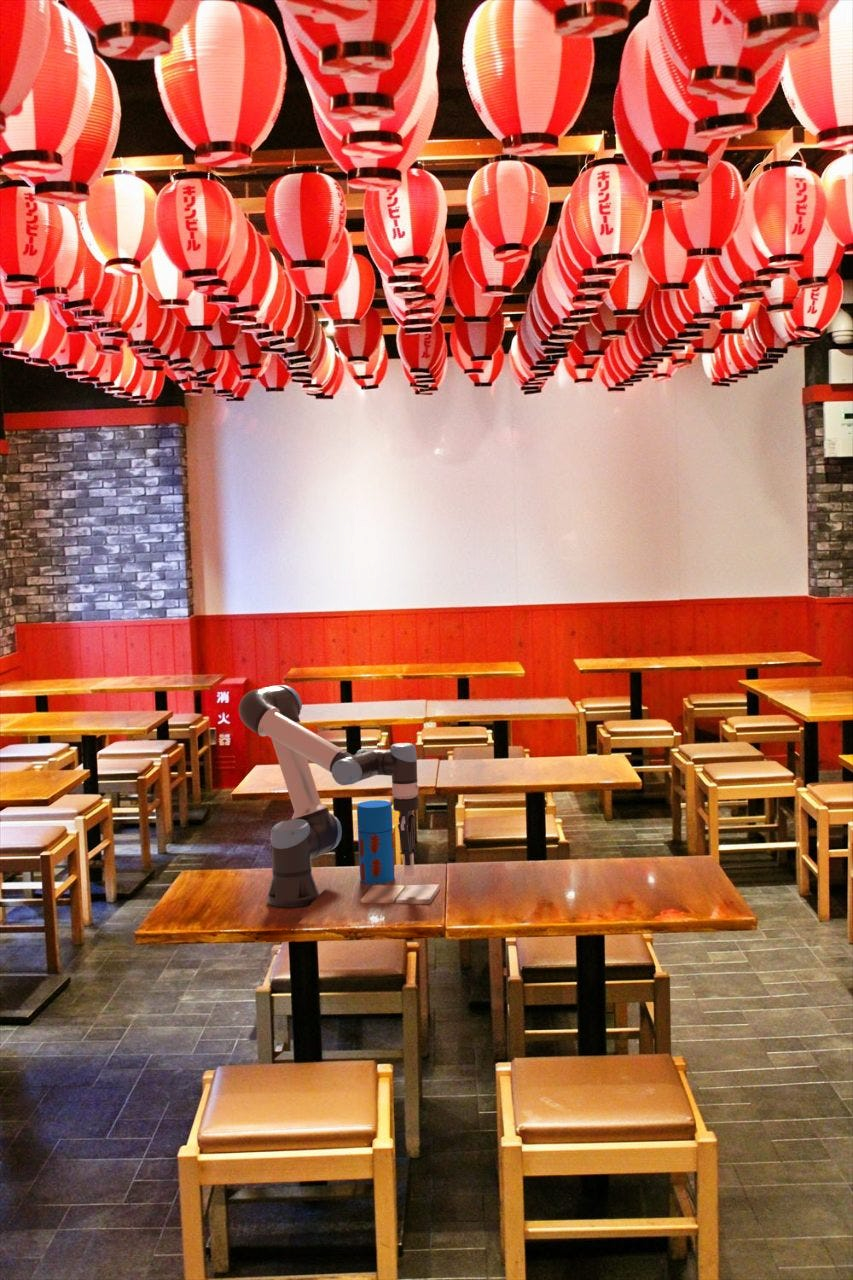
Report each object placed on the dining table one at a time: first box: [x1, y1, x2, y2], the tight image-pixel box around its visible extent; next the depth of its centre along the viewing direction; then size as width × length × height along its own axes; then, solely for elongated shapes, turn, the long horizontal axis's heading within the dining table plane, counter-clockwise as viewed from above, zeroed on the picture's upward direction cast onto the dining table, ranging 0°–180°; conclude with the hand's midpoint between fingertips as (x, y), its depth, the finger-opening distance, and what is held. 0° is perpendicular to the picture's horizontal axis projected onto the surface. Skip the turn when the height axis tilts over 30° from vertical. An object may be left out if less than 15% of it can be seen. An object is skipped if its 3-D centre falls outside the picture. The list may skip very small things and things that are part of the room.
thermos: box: [356, 799, 395, 885], centre depth 371 cm, size 11×11×25 cm
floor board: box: [360, 884, 406, 904], centre depth 353 cm, size 21×16×2 cm
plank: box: [395, 883, 441, 905], centre depth 351 cm, size 10×15×2 cm, turn 168°
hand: (409, 875), depth 351 cm, fingers closed
